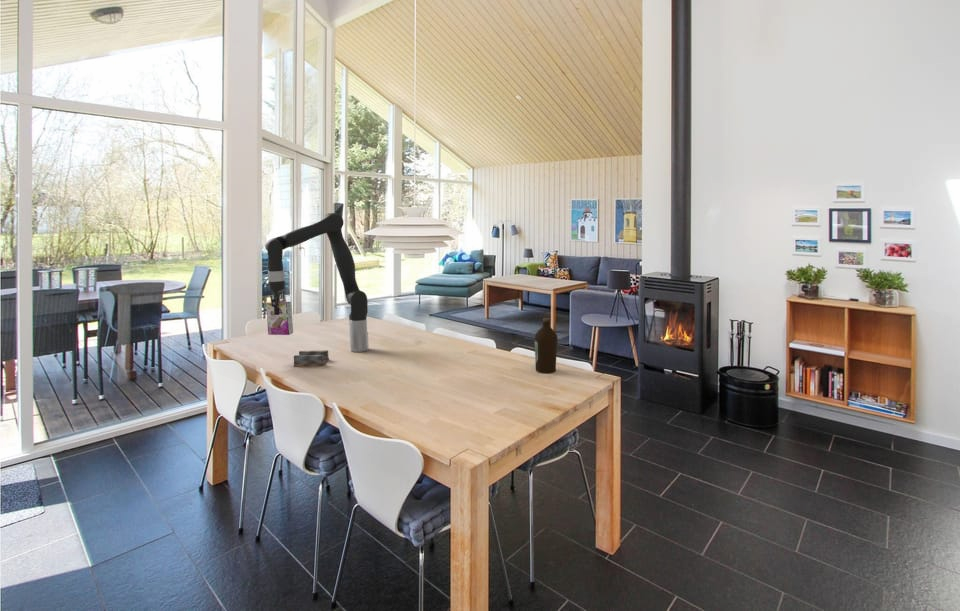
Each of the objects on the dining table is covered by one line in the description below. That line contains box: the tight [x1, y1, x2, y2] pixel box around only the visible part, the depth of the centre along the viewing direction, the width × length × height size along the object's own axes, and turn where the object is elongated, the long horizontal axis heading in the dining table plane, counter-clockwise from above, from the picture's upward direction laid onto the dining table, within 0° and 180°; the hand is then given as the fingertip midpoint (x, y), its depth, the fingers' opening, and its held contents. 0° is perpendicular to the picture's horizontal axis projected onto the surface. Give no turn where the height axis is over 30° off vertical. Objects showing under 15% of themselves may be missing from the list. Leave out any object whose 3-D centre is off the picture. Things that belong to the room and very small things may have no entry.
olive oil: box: [534, 317, 559, 374], centre depth 233 cm, size 11×11×25 cm
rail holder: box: [293, 349, 330, 368], centre depth 249 cm, size 14×12×5 cm
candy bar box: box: [265, 300, 294, 336], centre depth 250 cm, size 11×5×16 cm, turn 84°
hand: (279, 313), depth 250 cm, fingers closed on candy bar box, 5 cm apart
